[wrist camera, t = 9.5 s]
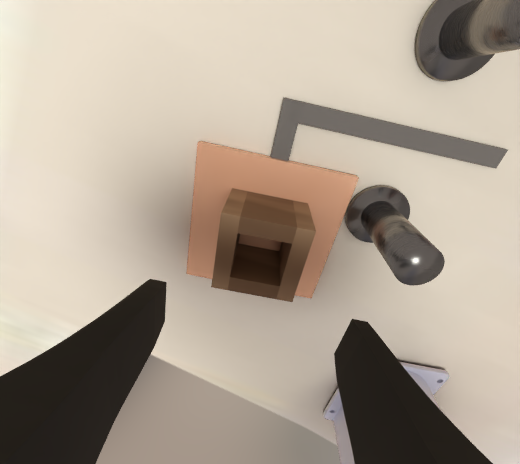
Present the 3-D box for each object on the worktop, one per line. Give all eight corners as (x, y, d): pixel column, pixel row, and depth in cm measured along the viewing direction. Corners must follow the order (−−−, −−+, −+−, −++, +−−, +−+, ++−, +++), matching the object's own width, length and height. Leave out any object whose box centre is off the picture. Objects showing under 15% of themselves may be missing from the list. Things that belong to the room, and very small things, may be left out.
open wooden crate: (289, 264, 17) (292, 301, 14) (222, 252, 17) (211, 286, 14) (307, 203, 15) (316, 231, 12) (232, 188, 15) (221, 212, 12)
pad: (310, 293, 19) (311, 298, 19) (188, 269, 19) (186, 273, 18) (356, 175, 15) (358, 178, 14) (200, 140, 14) (197, 142, 14)
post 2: (472, 88, 13) (593, 86, 8) (401, 71, 12) (480, 58, 8) (522, -8, 11) (717, -87, 6) (440, -29, 11) (575, -128, 6)
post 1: (390, 244, 17) (436, 305, 12) (337, 233, 17) (361, 290, 12) (417, 192, 15) (484, 239, 10) (358, 179, 15) (397, 220, 10)
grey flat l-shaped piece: (467, 208, 15) (469, 210, 15) (268, 165, 15) (268, 166, 15) (505, 148, 14) (508, 149, 14) (283, 97, 13) (284, 97, 13)
